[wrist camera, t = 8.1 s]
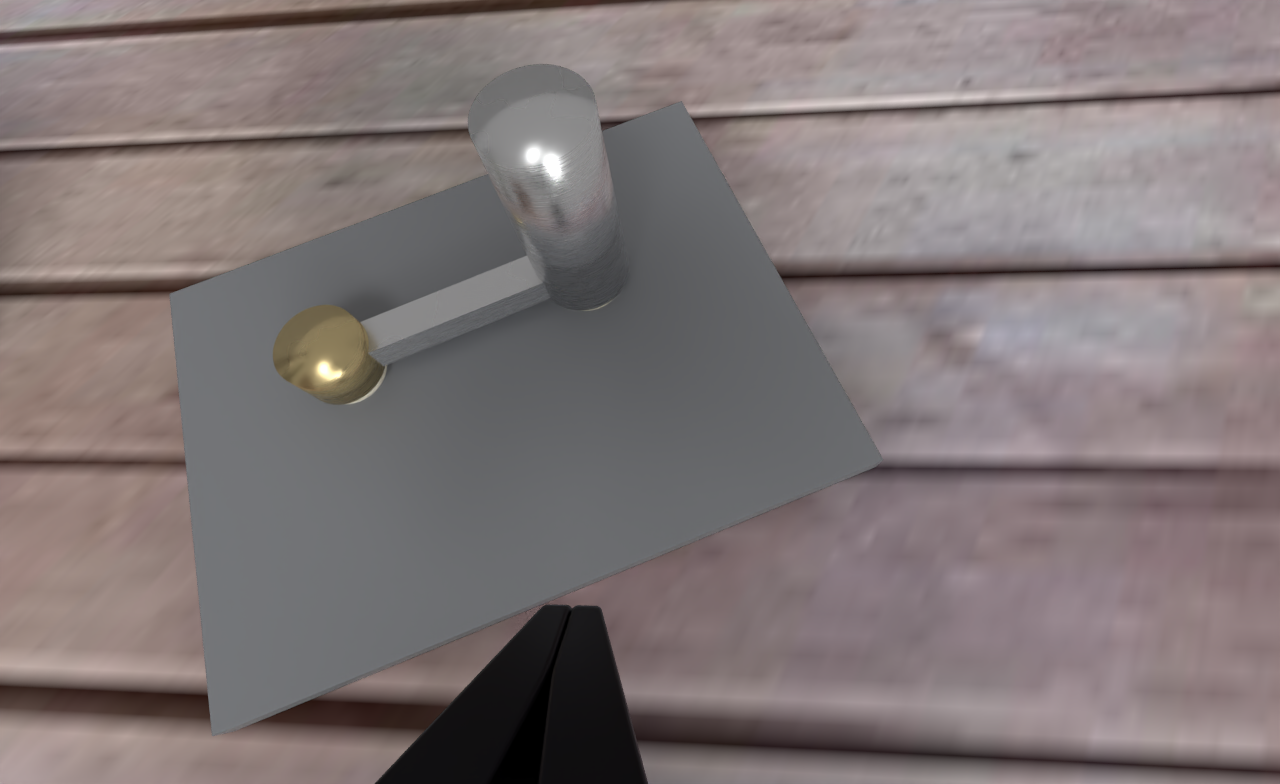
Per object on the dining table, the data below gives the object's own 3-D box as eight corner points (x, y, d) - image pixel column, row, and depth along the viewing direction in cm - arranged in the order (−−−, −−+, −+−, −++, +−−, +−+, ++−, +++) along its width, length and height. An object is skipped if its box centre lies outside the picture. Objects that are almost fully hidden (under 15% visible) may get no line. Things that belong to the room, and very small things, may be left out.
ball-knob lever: (315, 422, 23) (129, 325, 16) (299, 343, 24) (120, 219, 17) (643, 289, 24) (615, 134, 16) (609, 219, 25) (570, 47, 18)
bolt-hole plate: (233, 731, 21) (208, 737, 20) (187, 305, 27) (166, 292, 26) (875, 466, 22) (884, 458, 21) (682, 118, 28) (681, 98, 27)
